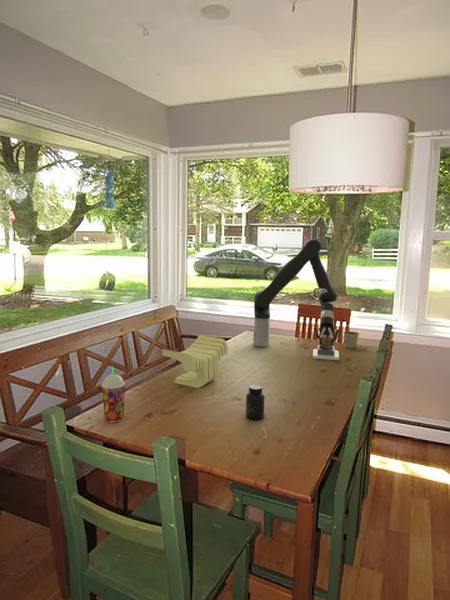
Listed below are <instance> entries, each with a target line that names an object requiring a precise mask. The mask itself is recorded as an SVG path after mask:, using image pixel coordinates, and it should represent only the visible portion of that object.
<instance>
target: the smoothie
mask: <svg viewBox="0 0 450 600" xmlns="http://www.w3.org/2000/svg"><path fill="white" fill-rule="evenodd" d="M114 370H115V368H114V366H111V374H108V375H107V376H106V377H105V378H104V379H103V381H102V383H101V384H100V386H101V392H102V402H103V412H104V418H105V420H108V421H118V420H121V419H122V420H123V418H124V415H125V393H126V382H125V380H124V379H123V377H122V376H121V375H119V374H116V373H115V371H114ZM122 420H121V421H122ZM108 421H107V422H108Z"/></svg>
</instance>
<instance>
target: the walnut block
mask: <svg viewBox="0 0 450 600" xmlns="http://www.w3.org/2000/svg"><path fill="white" fill-rule="evenodd" d="M321 349H324V350H331V337H329V336H323V337H322V346H321Z"/></svg>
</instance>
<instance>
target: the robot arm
mask: <svg viewBox="0 0 450 600" xmlns="http://www.w3.org/2000/svg"><path fill="white" fill-rule="evenodd" d="M302 246H303V248H302V249H301V250H300V251H299V252H298V253H297V254H296V255H295V256H294V257H293V258H291V259H290V260H289V261H288V262H286V263H285V264H284V265H283V266H282V267H281V268H280V269H279V270H278V271H277V273H276V275H274V277H273V279H272V281H271V282H270V284H268V285H267V286H266V288H265V289H262V290H259V291H257V292H256V294H255V295H254V304H253V305H254V306H253V307H254V309H253V310H254V311H253V312H254V327H253V328H254V329H253V340H252V341H253V344H252V346H254V347H260V348H266V347H269V346H270V329H271V328H270V327H271V326H270V325H271V324H270V323H271V312H270V311H271V310H270V305H271V303H272V302H273V300H274V299H276V297H277V296H278V294H279V293H280V292H281V291H282V290H283V289H284V288H285V287H287V285H289V284H290V282H291V281H293V279H294V278H295V277H296V276H297V275H298V274H299V273H300V272H301V271H302V270H303V268H304V267H305V266H306V265H307V263H310V266H311V268H312V271H313V274H314V278H315V281H316V284H317V287H318V289H321V290H322V289H325V290H326V291H321V292H320V293H319V294H318V301H319V303H320V308H321V310H320V320H319V321H320V322H319V327H318V328H317V327H315V328H314V333H315V334H314V335H315V338H316V339H317V340H319V342H318V343H319V345H321V346H322V337H325V336H327V337H331V346H333V345H334V341H337V339H338V336H339V332H340V329H339V328H338V329H335V328H334V322H335V319H334V318H335V316H334V305H333V304H332V303H334V302H336V301H337V300H338V299H337V298H338V295H337V293H336V291H335V289H334V288H333V286H332V284H331V283H330V280H329V277H328V274H327V272H326V271H327V270H326V269H325V267H324V264H323V262H322V261H321V257H320V254H319V253H320V251H321V248H322V244H321V242H320V241H319V240H317V239H314V238H311V239H310V238H309V239H307V240H306V241H304V243H303V245H302ZM319 332H320V335H319ZM333 333H335V335H334V336H333Z"/></svg>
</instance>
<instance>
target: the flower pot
mask: <svg viewBox="0 0 450 600" xmlns="http://www.w3.org/2000/svg"><path fill="white" fill-rule="evenodd" d="M342 333H343V336H344V346H345V348H349V349H355V348H357V343H358V339H359V335H360V332H358V331H350V330H349V331H348V330H347V331H343V332H342Z"/></svg>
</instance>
